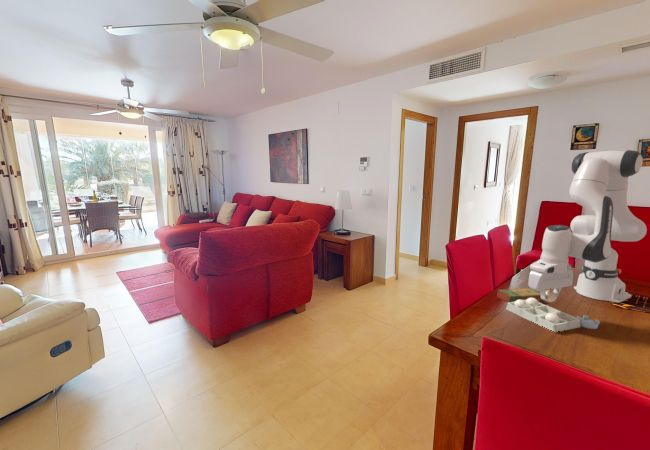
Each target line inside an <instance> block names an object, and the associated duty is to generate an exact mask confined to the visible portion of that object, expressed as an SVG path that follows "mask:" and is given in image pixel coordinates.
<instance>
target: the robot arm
mask: <svg viewBox="0 0 650 450" xmlns="http://www.w3.org/2000/svg"><path fill="white" fill-rule="evenodd" d="M643 162H644V159H643V155H642V154H641V153H640V152H639V151H637V150H631V149H628V150H627V149H626V150H619V149H618V150H616V149H615V150H614V149H612V150H610V149H609V150H601V151H592V152H581V153H579V154H577V155H576V156H575V157H574V158H573V160H572V161H571V171H572V173H573V174H574V175H573V179H572V180H571V182H570V183H571V184H570V186H569V191H568V194H569V198H570V199H571V200H572V201H573V202H574V203H576V204H577V205H580V206H581V207H583V208H586V209H589V210H591V211H593V212H594V214H595V215H594V214H584V215H583V214H582V215H577V216H575V217H574V218H573V219H572V220H571V222H570V226H568V225H563V224H553V225H548V226H547V227H546V228H545V230H544V233H543V237H542V243H541V249H542V251H541V255H540V257H539V258H540V259H538V260H536V261H535V262H532V263H531V264H530V265H529V269H530V272H529V276H528V282H527V284H528V288H529V289H531V290H533V291H535V292H538V293H539V294H541V296H540V298H541V300H544V299H547V297H548V295H546V292H547V291H548V290H552V291H553V292H554V293H555V294H556V296H557V298H559V294H560V292H561V291H562V288H566V287H572V285H573V283H574V272H573V270H572V269H573V268H572V265H571V264H570V263H569V257H571V258H577V259H581V260H584V264H583V266H582V268H581V269H582V273H580V274H579V275H578V279H577V283H576V285H574V286H573V289H574V290H575V291H576V293H578V294H579V295H580V296H584V297H586V298H590V299H594V300H598V301H605V302H606V301H607V302H612V303H622V302H624V301H626V300H629V299H630V298H632V294H630V293H628V292H626V288H627V287H626V283H625V282H623V281H622V280H621V279H620V278H619V276H618V274H621V273H622V269H621V268H617V264H618V259H619V254H618V252H617V251H616V250H615V249H614V248H612V244H611V242H612V241H615V242H616V241H618V242H638V241H640V240H642V239H643V238H644V237H645V236H646V235H647V231H648V229H647V226H646V224H645V222H644V221H643V220H641V219H639V218H638V217H637V216H635V215H634V214H633V213H632V211H630V208H629V207H628V189H629V177H632V176H634V175H636V174H637V173H639V171H640V170H641V168H642V166H643V164H644V163H643Z"/></svg>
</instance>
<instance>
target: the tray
mask: <svg viewBox="0 0 650 450" xmlns="http://www.w3.org/2000/svg"><path fill="white" fill-rule="evenodd" d="M524 301H525V302H526V300H524ZM514 303H515V302H509V303H507V302H506V308H505V310H506V311H509V312H511V313H512V314H515V315H517V316H519V317H521V318H523V319H525V320H527V321H529V322H531V321H532V322H531V323H533V322H534V324H535V323H536V325H537V324H538V325H537V326H540V327H542V326H543V327H542V328H544V327H545V328H544V329H546V328H547V329H546V330H548V329H549V330H548V331H550V330H552V331H554V332H555V333H559V332H558V331H560V332H564V330H565V331H567V330H569V331H570V330H574V329H579V328H581V327H582V326H581V319H578V318H577V316H573V315H571V314H568V313H567V312H564V311H561V310H559V309H557V308H554V307H551V306H549V305H546V304H543V303H542V302H539V305H538V306H537V307H533V306H530V305H528V304H527V308H525V309H521V308H518V307H516V306H515V305H514ZM548 313H554V314H556V315H558V316H559V318H560V323H558V324H553V323H551V322H549V321H547V320H545V316H546V315H547V314H548ZM552 331H551V332H552ZM554 332H553V333H554Z"/></svg>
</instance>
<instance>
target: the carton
mask: <svg viewBox="0 0 650 450" xmlns="http://www.w3.org/2000/svg"><path fill="white" fill-rule="evenodd" d="M496 294H497V296H496V297H497V298H498V299H500V300H502V301H504V302H505V303H506V304H507V303H509V302H515V301H516V300H519V299H521V300H527V299H528V298H535V299H537V300H538V302H539V303H542V299H541V298H540V296H541V294H540V292H538V291H536V290H533V289H531V288H530V287H526V288H525V287H524V288H523V287H522V288H506V289H498V290H497V293H496Z"/></svg>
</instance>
